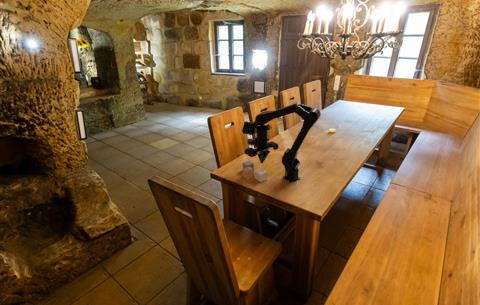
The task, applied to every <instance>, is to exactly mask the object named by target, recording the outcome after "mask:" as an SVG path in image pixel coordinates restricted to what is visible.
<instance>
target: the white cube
mask: <svg viewBox="0 0 480 305" xmlns="http://www.w3.org/2000/svg"><path fill="white" fill-rule="evenodd" d="M254 178H255V180H256V181H258V182H259V183H262V182H264V181H265V182H266V180H268V171H266V170H265V169H263V168H260V169H256V170H254Z"/></svg>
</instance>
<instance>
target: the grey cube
mask: <svg viewBox="0 0 480 305" xmlns="http://www.w3.org/2000/svg"><path fill="white" fill-rule="evenodd" d="M247 167H251V168H252V169H254V170H255V163H254V162H252V161H251V160H246V161H243V162H242V169H244V168H247Z"/></svg>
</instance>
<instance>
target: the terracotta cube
mask: <svg viewBox="0 0 480 305" xmlns="http://www.w3.org/2000/svg"><path fill="white" fill-rule="evenodd" d="M241 174H242V177H243V178H244V179H245V180H247V181H248V180H250V179H254V178H255V168H254V169H252V168H251V167H247V168H244V169H243V168H242V173H241Z"/></svg>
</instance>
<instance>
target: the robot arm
mask: <svg viewBox="0 0 480 305" xmlns="http://www.w3.org/2000/svg"><path fill="white" fill-rule="evenodd" d="M292 114H296V115H298V116H299V117H300V118H301V119H303V122H302V126H301V128H300V130H299V132H298V133H297V134H298V135H297V136H296V138H295V140H294V141H293V143H292V146H291V147H290V148H289V147H287V148H286V150H284V152H283V155H282V157H281V158H280V159H281V164H282V165H283V167H284V170H285V171H284V176H282V178H283V179H285V180H286V181H288V182H289V183H293V182H297V181H298V180H301V177H299V170H300V169H299V168H298V167H299V165H300V164H301V162H300V160H299V159H298V158H297V157H298V154H299V150H300V148H301V146H302V145H303V143H304V141H305V139H306V137H307V135H308V134H309V132H310V130H311V129H312V127H313V126H314V125H315V124H316V123H317V121H319V119H320V118H321V115H322V114H321V111H320V109H318V108H316V107H311V106H309V105H305V104H302V103H300V102H294V103H292V104H289V105H287V106H283V107H280V108H277V109H274V110H266V111H265V110H264V111H261V112H260V113H258V114H256V115H255V118H254V121H253V122H251V121H247V120H245V121H244V122H243V126H242V128H241V129H242V130H241V132H242V134H244V135H249V136H255V135H256V137H255V138H248V139H247V144H248V146H251V147H248V148H247V147H246V148H245V150H244V154H245V155H246V156H248V157H249V158H253V157H256V156H257V157H258V160H259V162H260V164H264V162H265V160H266V159H267V157H268V156H269V154H270V153H271V151H270V149H271V148H272V149H273V150H274V151H276V150H279V144H278V143H277V142H275V141H272V140H271V141H270V138H268V136H269V135H268V134H269V131H270V130H271V129H272V128H273V126H271V124H270V122H271V121H273V120H275V119H279V118H281V117H284V116H287V115H292ZM252 146H253V147H254V148H253V147H252Z"/></svg>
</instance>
